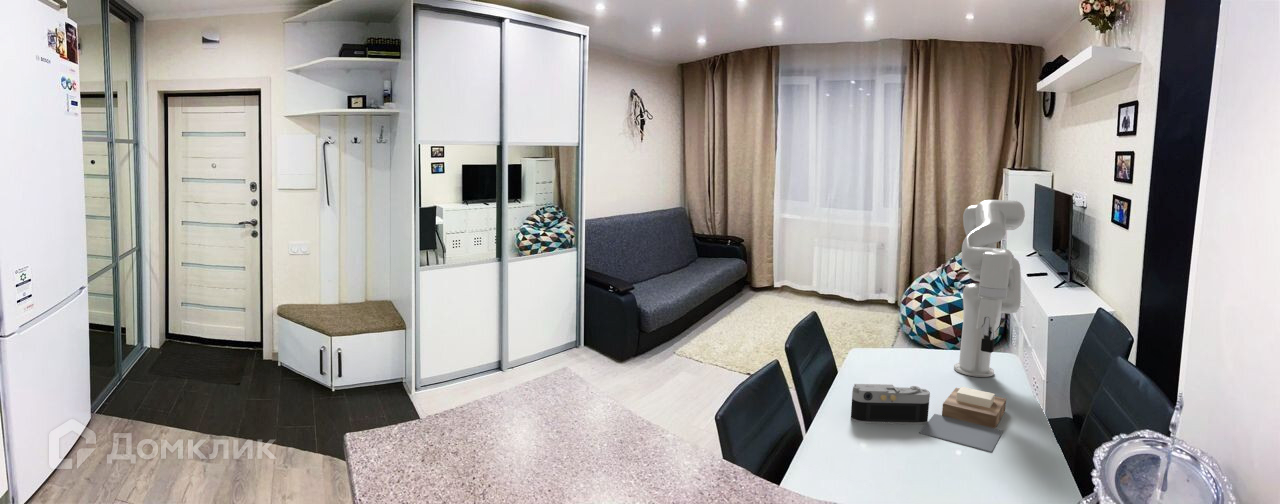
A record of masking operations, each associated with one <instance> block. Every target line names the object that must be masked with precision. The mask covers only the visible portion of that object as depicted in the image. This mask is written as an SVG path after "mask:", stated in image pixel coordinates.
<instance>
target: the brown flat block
mask: <svg viewBox="0 0 1280 504" xmlns="http://www.w3.org/2000/svg"><path fill="white" fill-rule="evenodd" d="M960 388H961V387H960ZM960 388H959V387H955V388H954V389H953V390H952V392H951V393H950V395H949V396H948V397H946V399H945V400H944V401H943V403H942V408H941V409H942V410H941V415H942V416H946V417H950V418H954V419H958V420H962V421H967V422H971V423H975V424H979V425H983V426H987V427H991V428H995V429H997V427H998V424H999V423H1000V421H1001V419H1002V417H1003V416H1004V414H1005V412H1006V407H1007V406H1006V405H1007V398H1005V397H1001V396H994V402H993V404H992V406H991V407H990V408H987V407H983V406H978V405H974V404H969V403H965V402H961V401H956V397H957V392H958V391H959V389H960Z"/></svg>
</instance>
